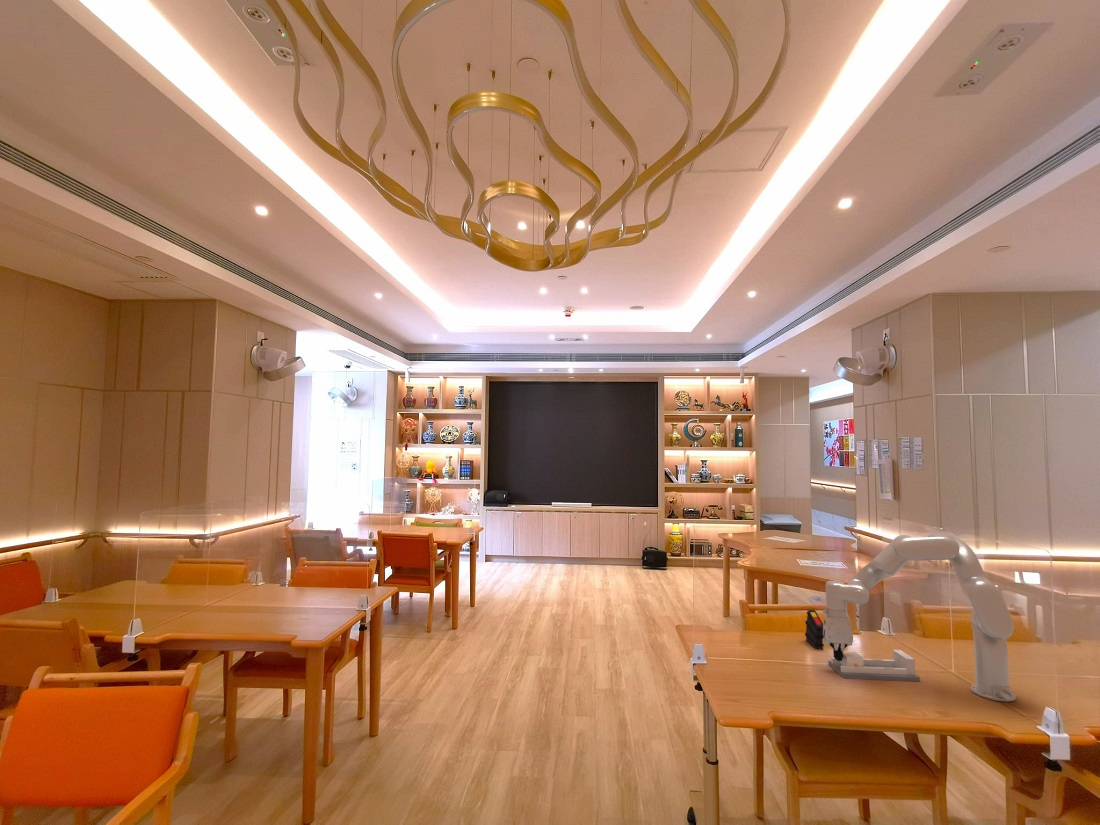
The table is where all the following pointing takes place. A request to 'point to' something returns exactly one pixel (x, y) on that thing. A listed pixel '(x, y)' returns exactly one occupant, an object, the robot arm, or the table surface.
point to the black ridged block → (814, 630)
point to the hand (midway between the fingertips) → (838, 659)
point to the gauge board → (880, 668)
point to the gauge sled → (851, 659)
